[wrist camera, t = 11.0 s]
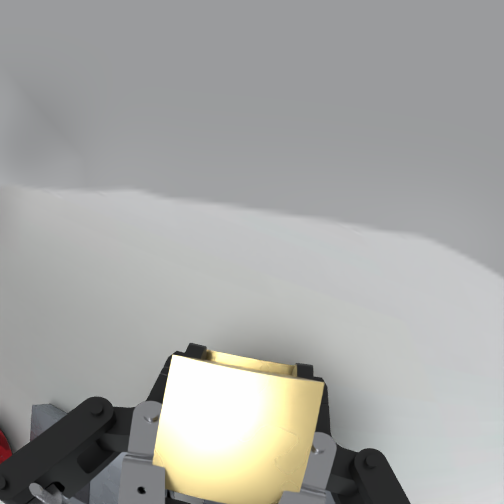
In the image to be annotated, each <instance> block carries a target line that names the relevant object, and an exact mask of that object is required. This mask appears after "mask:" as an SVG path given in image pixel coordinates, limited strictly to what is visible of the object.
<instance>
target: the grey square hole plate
mask: <svg viewBox="0 0 504 504" xmlns="http://www.w3.org/2000/svg"><path fill="white" fill-rule="evenodd" d="M65 415H67V413H66V412H64V411H62V410H60V409H58V408H56V407H54V406H53V405H51V404H41V405H33V406H32V417H31V434H30V442H31V441H32V440H33V439H35V438H36V437H37V436H39V435H40V434H41V433H43V432H44V431H45V430H47V429H48V428H49V427H51V426H52V425H53V424H55V423H56V422H57V421H59V420H60V419H61V418H63V417H64V416H65ZM125 455H127V452H122V453H121V454H120V455H119V456H118V457H116V458H115V459H114V460H113V461H112V462H111V463H110V464H109V465H108V466H107V467H106V468H104V469H103V470H102V471H101V472H100V473H99V474H98V475H97V476H96V477H94V478H93V479H92V480H91V481H90V482H89V483H88V484H87V485H85V486H84V487H83V488H82V489H81V490H80V491H78V492H77V493H76V494H75V495H74V496H73V497H71V498H70V499H69V500H70V502H71V504H118V499H119V487H120V477H121V468H122V461H123V457H124V456H125ZM325 493H326V495H327V497H326V501H325V504H335V502H334V500H333V497H332V495H331V492H330V491H327V490H325ZM203 504H226V503H221V502H216V501H211V500H206V499H204V503H203Z"/></svg>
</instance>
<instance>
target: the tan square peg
mask: <svg viewBox="0 0 504 504" xmlns="http://www.w3.org/2000/svg"><path fill="white" fill-rule="evenodd" d="M293 369H294V366H293V365H286V364H280V363H274V362H268V361H262V360H256V359H251V358H245V357H240V356H235V355H230V354H225V353H220V352H215V351H211V350H207V352H206V360H202V359H196V358H190V357H184V356H178V355H173V357H172V361H171V366H170V370H169V375H168V380H167V385H166V390H165V395H164V400H163V405H162V410H161V416H160V421H159V427H158V432H157V438H156V444H155V450H154V456H153V463H152V464H153V465H157V466H161V467H165V472H166V486H167V489H168V490H171V491H175V492H178V493H182V494H186V495H190V496H194V497H198V498H202V499H206V500H211V501H216V502H221V503H226V504H277V503H278V501H279V499H280V497H281V495H282V494H283V492H284V490H285V491H293V492H300V489H301V485H302V482H303V478H304V474H305V470H306V466H307V462H308V458H309V454H310V450H311V446H312V442H313V437H314V433H315V428H316V424H317V419H318V414H319V409H320V404H321V399H322V393H323V388H324V382H319V381H314V380H309V379H305V378H300V377H295V376H291V375H292V372H293Z"/></svg>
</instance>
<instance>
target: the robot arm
mask: <svg viewBox="0 0 504 504" xmlns="http://www.w3.org/2000/svg"><path fill="white" fill-rule="evenodd" d="M206 352H207V347H206V346H203V345H198V344H194V343H190V344H189V345H188V348H187V350H186V352H185V353H183V352H179V351H176V352H175V353H173V354H172V355H171V356H169V357H168V359H167V361H166V363H165V365H164V368H163V369H162V371H161V373H160V375H159V377H158V379H157V381H156V383H155V385H154V387H153V389H152V391H151V393H150V394H149V396H148V398H147V400H146V401H145V402H142V403H140V404H138V405H137V406H136V407H133V408H123V407H113V406H112V404H111V403H110V402H109V401H108V400H107V399H105V398H102V397H91V398H88V399H87V400H85V401H84V402H82V403H81V404H80V405H79V406H77V407H76V408H75V409H73V410H72V411H71V412H69V413H68V414H67V415H65V416H64V417H63V418H61V419H60V420H59V421H57V422H56V423H55V424H53V425H52V426H51V427H49V428H48V429H47V430H45V431H44V432H43V433H41V434H40V435H39V436H37V437H36V438H35V439H33V440H32V441H31V442H29V443H28V444H27V445H25V446H24V447H23V448H21V449H20V450H19V451H17V452H16V453H14V454H13V455H12V456H10V457H9V458H8V459H6V460H5V461H4V462H2V463H1V464H0V500H1V501H3V502H4V503H5V504H71V502H70V500H69V499H70V498H71V497H73V496H74V495H75V494H76V493H77V492H78V491H80V490H81V489H82V488H83V487H84V486H85V485H87V484H88V483H89V482H90V481H91V480H92V479H93V478H94V477H96V476H97V475H98V474H99V473H100V472H101V471H102V470H103V469H104V468H106V467H107V466H108V465H109V464H110V463H111V462H112V461H113V460H114V459H115V458H116V457H118V456H119V455H120V454H121V453H122V452H127V455H125V456H124V457H123V461H122V468H121V477H120V487H119V499H118V504H190V503H187V502H183V501H179V500H175V499H174V491H171V490H168V489H167V486H166V472H165V467H161V466H157V465H153V464H152V463H153V456H154V450H155V444H156V438H157V432H158V427H159V421H160V416H161V410H162V405H163V400H164V395H165V390H166V385H167V380H168V375H169V370H170V366H171V361H172V357H173V355H178V356H184V357H190V358H196V359H202V360H206ZM291 376H295V377H300V378H305V379H309V380H314V381H319V382H324V380H323V379H322V378H320V377H313V366H312V365H308V364H300V363H296V364H295V366H294V369H293V372H292V375H291ZM325 490H327V491H330V492H331V495H332V497H333V500H334V502H335V504H411V503H410V502H409V500H408V498H407V496H406V494H405V492H404V491H403V489H402V487H401V485H400V483H399V481H398V480H397V478H396V476H395V474H394V472H393V470H392V469H391V467H390V465H389V463H388V461H387V459H386V458H385V456H384V455H383V454H382V453H381V452H380V451H378V450H376V449H372V448H367V449H363V450H361V451H360V452H359V453H358V452H354V451H351V450H348V449H345V448H342V447H340V446H339V445H338V444H336V443H335V441H334V440H333V438H332V437H331V433H330V418H329V406H328V391H327V386H326V384H325V382H324V388H323V393H322V399H321V404H320V409H319V414H318V419H317V424H316V428H315V433H314V437H313V442H312V446H311V450H310V454H309V458H308V462H307V466H306V470H305V474H304V478H303V482H302V485H301V489H300V492H293V491H285V490H284V492H283V494H282V495H281V497H280V499H279V501H278V503H277V504H325V501H326V497H327V495H326V493H325Z"/></svg>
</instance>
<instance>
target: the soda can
mask: <svg viewBox="0 0 504 504" xmlns="http://www.w3.org/2000/svg"><path fill="white" fill-rule="evenodd" d="M10 456H12V452H11V448H10V445H9V443H8V441H7V439H6V437H5V436H4V434H3V432H2V431H1V429H0V464H1V463H2V462H4V461H5V460H6V459H8V458H9V457H10Z"/></svg>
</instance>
